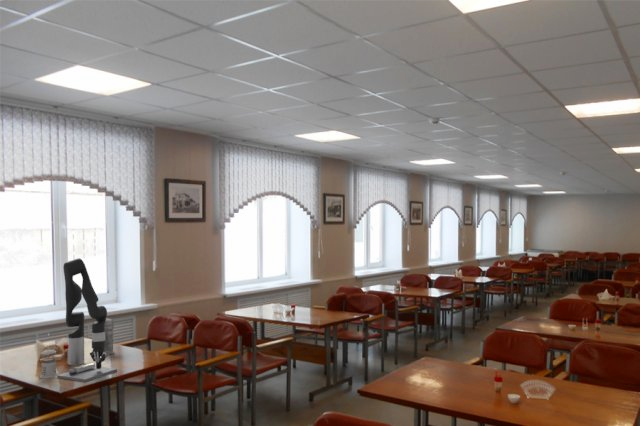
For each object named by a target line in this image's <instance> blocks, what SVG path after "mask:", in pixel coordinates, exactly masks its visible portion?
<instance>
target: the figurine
mask: <svg viewBox="0 0 640 426" xmlns="http://www.w3.org/2000/svg"><path fill="white" fill-rule="evenodd" d="M114 329H115V325H114V321H113V319H112V318H109V317H106V321H105V347H104V350H105V353H107V354H108V355H110V356H111V355H114V354H115V352H114ZM108 355H107V356H108Z"/></svg>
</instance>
